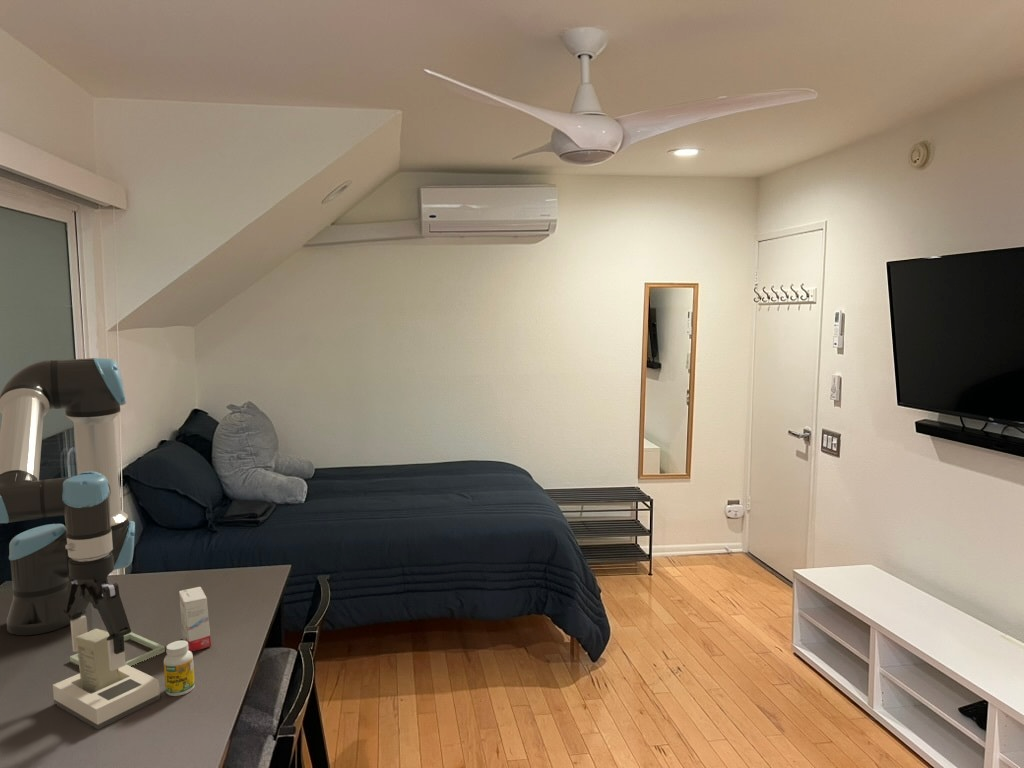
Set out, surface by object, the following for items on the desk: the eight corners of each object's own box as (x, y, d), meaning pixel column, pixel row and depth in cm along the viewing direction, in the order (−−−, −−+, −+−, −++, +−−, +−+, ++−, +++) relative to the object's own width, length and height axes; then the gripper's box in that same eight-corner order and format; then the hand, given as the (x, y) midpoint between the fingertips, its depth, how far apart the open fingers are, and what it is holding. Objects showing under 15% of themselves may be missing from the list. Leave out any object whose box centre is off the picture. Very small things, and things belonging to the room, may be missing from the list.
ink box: (211, 647, 162) (208, 597, 160) (187, 653, 159) (184, 603, 157) (204, 633, 169) (201, 585, 167) (181, 638, 166) (178, 590, 165)
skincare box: (121, 691, 142) (117, 633, 140) (100, 702, 138) (95, 642, 136) (101, 684, 144) (96, 626, 143) (80, 694, 141) (75, 635, 139)
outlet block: (54, 704, 139) (52, 684, 139) (115, 676, 149) (114, 658, 149) (98, 729, 131) (96, 709, 130) (159, 698, 141) (158, 679, 140)
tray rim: (70, 661, 156) (69, 656, 155) (131, 636, 167) (130, 631, 167) (103, 678, 148) (103, 673, 148) (165, 651, 160) (164, 646, 160)
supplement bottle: (197, 681, 147) (194, 637, 146) (191, 695, 142) (189, 649, 141) (169, 684, 146) (166, 640, 145) (162, 698, 141) (159, 652, 140)
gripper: (38, 548, 141) (46, 649, 144) (106, 574, 128) (114, 685, 131) (77, 537, 147) (85, 634, 150) (146, 561, 134) (153, 667, 137)
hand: (98, 658), depth 140 cm, fingers open, 13 cm apart
